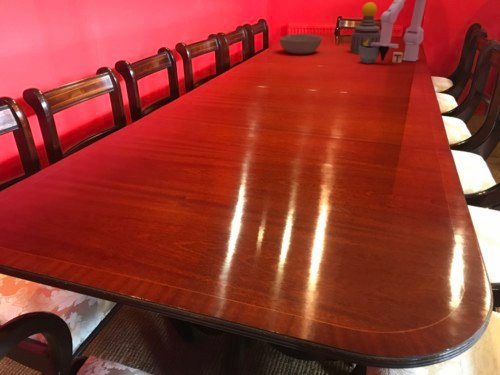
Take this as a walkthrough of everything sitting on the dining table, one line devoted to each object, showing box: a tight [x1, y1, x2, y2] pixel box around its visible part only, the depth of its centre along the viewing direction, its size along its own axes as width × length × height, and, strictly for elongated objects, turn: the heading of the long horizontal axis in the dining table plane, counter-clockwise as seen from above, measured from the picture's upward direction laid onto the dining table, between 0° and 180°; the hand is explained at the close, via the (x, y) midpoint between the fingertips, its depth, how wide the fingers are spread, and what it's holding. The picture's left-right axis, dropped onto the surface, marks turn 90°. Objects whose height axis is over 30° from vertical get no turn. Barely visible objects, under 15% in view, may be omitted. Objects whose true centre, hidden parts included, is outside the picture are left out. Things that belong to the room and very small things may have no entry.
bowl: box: [278, 33, 323, 55], centre depth 258 cm, size 28×28×10 cm
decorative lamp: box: [349, 1, 381, 55], centre depth 252 cm, size 19×19×30 cm
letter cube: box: [391, 51, 404, 63], centre depth 229 cm, size 5×5×5 cm
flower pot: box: [358, 45, 380, 64], centre depth 226 cm, size 9×9×9 cm
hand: (382, 60), depth 223 cm, fingers closed
